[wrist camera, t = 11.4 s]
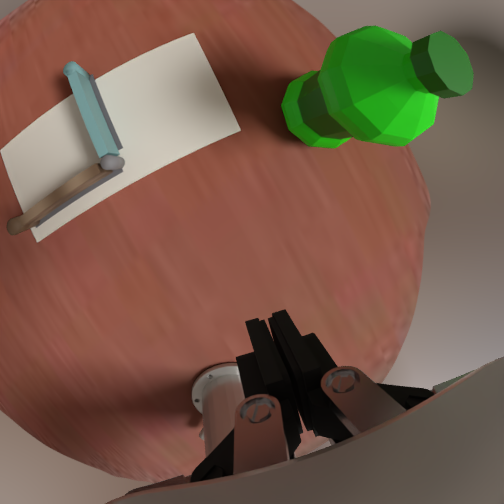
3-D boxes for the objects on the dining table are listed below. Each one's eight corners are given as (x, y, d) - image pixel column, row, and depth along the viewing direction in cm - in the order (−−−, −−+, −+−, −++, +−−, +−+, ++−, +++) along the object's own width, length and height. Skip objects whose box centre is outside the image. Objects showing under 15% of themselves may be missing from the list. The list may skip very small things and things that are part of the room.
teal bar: (127, 165, 33) (117, 164, 28) (115, 172, 33) (103, 172, 28) (87, 70, 28) (74, 58, 24) (76, 77, 28) (61, 67, 24)
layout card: (38, 242, 34) (37, 242, 33) (-1, 145, 29) (-3, 144, 28) (240, 130, 35) (241, 130, 34) (190, 28, 30) (190, 27, 29)
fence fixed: (33, 228, 33) (11, 238, 27) (27, 215, 32) (4, 223, 26) (114, 174, 33) (99, 176, 27) (108, 160, 33) (92, 159, 27)
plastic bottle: (353, 96, 36) (498, 52, 12) (332, 164, 38) (486, 173, 14) (288, 65, 33) (397, -36, 10) (262, 136, 35) (369, 87, 12)
